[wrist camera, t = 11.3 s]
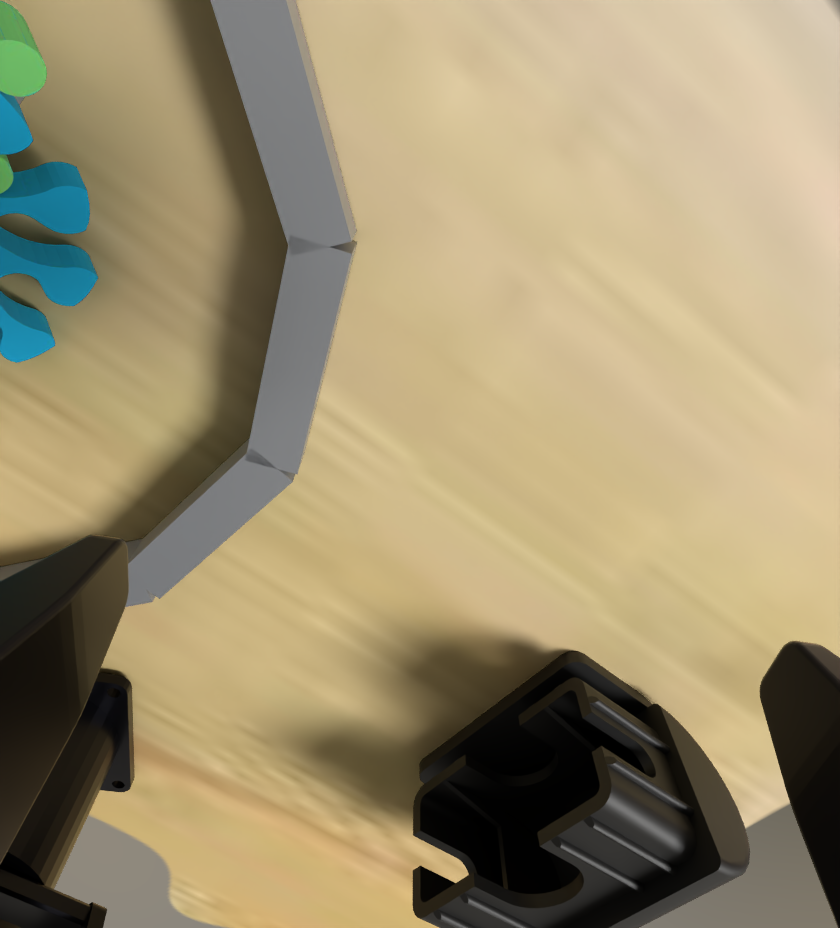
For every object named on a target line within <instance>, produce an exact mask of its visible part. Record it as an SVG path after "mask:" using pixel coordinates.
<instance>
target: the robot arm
mask: <svg viewBox="0 0 840 928" xmlns="http://www.w3.org/2000/svg"><path fill="white" fill-rule="evenodd" d="M128 593H129V577H128V549H127V545H126V542H125V541H124V540H122V539H121V538H115V537H108V536H102V535H89V536H87V537H85V538H83V539H81V540H79V541H77V542H75V543H73V544H71V545H69V546H67V547H65V548H63V549H61V550H59V551H57V552H55V553H53V554H52V555H50V556H48V557H46V558H44V559H42V560H40V561H38V562H36V563H34V564H32V565H30V566H28V567H26V568H24V569H22V570H20V571H18V572H16V573H14V574H13V575H11V576H9V577H7V578H5V579H3V580H1V581H0V928H103V925H104V920H105V916H106V912H107V909H106V908H105V907H102V906H100V905H98V904H95V903H93V902H92V903H90V904H87V903H84V902H82V901H80V900H77V899H75V898H73V897H70V896H68V895H66V894H63V893H61V892H59V891H56V890H54V888H55V886H56V884H57V881H58V879H59V877H60V874H61V873H62V871H63V868H64V866H65V864H66V862H67V860H68V858H69V856H70V853H71V851H72V849H73V847H74V845H75V843H76V840H77V838H78V836H79V834H80V832H81V829H82V827H83V825H84V823H85V821H86V819H87V817H88V814H89V812H90V810H91V808H92V806H93V804H94V801H95V799H96V797H97V795H98V793H99V791H100V790H105V791H114V792H125V791H128V790H129V789H130V787H131V785H132V783H133V780H134V746H133V713H132V686H131V683H130V681H129V680H128V679H126V678H125V677H123V676H119V675H112V674H105V673H99V671H100V668H101V666H102V663H103V661H104V658H105V656H106V653H107V651H108V648H109V646H110V643H111V641H112V639H113V636H114V634H115V631H116V629H117V626H118V624H119V621H120V619H121V616H122V614H123V611H124V609H125V606H126V603H127V599H128ZM760 699H761V703H762V706H763V710H764V713H765V717H766V720H767V724H768V727H769V731H770V734H771V738H772V741H773V745H774V749H775V752H776V756H777V759H778V763H779V766H780V770H781V773H782V777H783V780H784V784H785V787H786V791H787V794H788V797H789V800H790V803H791V806H792V809H793V812H794V815H795V818H796V820H797V823H798V826H799V828H800V831H801V833H802V836H803V839H804V841H805V844H806V846H807V849H808V852H809V854H810V856H811V859H812V862H813V864H814V867H815V870H816V872H817V875H818V877H819V880H820V883H821V885H822V888H823V890H824V893H825V895H826V898H827V901H828V903H829V906H830V908H831V911H832V913H833V916H834V919H835V921H836V924H837V926H838V928H840V658H839V657H838V656H836V655H835V654H833V653H832V652H831V651H829V650H828V649H826V648H825V647H823V646H821V645H818V644H813V643H807V642H800V641H790V642H788V643H787V644H785V645H784V646H783V647H782V649H781V650H780V652H779V654H778V655H777V657H776V658H775V660H774V662H773V663H772V665H771V666H770V668H769V669H768V671H767V673H766V674H765V676H764V677H763V679H762V681H761V685H760Z"/></svg>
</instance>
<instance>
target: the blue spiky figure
mask: <svg viewBox="0 0 840 928" xmlns="http://www.w3.org/2000/svg"><path fill="white" fill-rule="evenodd" d="M46 76H47V72H46V67H45V64H44V61H43V59H42V57H41V54H40V52H39V50H38V48H37V46H36V43H35V41H34V39H33V37H32V34H31V32H30V30H29V28H28V25H27V23H26V21H25V20H24V18H23V16H22V15H21V14H20V13H19V12H18V11H17V10H16V9H15V8H13V7H12V6H11V5H9V4H7V3H5V2H3V1H0V216H2V215H5V214H10V213H19V214H24V215H28V216H30V217H32V218H34V219H35V220H37V221H38V222H40V223H41V224H43V225H44V226H46V227H47V228H49V229H51V230H53V231H55V232H59V233H64V234H74V233H80V232H82V231H85V230H86V228H87V225H88V223H89V216H90V208H89V200H88V194H87V190H86V187H85V185H84V183H83V181H82V178H81V176H80V174H79V171H78V169H77V167H75V166H73V165H71V164H68V163H64V162H50V163H45V164H42V165H40V166H38V167H35V168H33V169H28V170H24V171H20V172H13V171H12V169H11V166H10V163H9V161H8V158H7V155H6V154H13V153H17V152H20V151H22V150H24V149H25V148H27V147H28V146H29V145H30V144H31V143H32V142H33V139H32V136H31V133H30V130H29V128H28V125H27V123H26V121H25V118H24V116H23V113H22V111H21V108H20V106H19V105H20V104H21V102H22V101H23V99H24V97H25V96H29V95H32V94H35V93H36V92H38V91H39V90H40V89H41V88H42V87H43V85H44V83H45V81H46ZM13 273H21V274H27V275H30V276H32V277H34V278H35V279H37V280H38V281H39V283H40V284H41V286H42V288H43V290H44V292H45V294H46V296H47V297H48V298H49V299H50V300H51V301H53V302H55V303H57V304H60V305H65V306H75V305H76V304H78V303H79V302H80V301H82V300H83V299H84V298H85V297H86V296H87V295H88V293H89V292H90V290H91V289H92V288H93V286H94V284H95V282H96V281H97V279H98V276H97V274H96V271H95V269H94V267H93V264H92V262H91V259H90V257H89V255H88V254H87V253H86V252H85V251H84V250H82V249H81V248H79V247H76V246H72V245H52V244H43V243H38V242H34V241H29V240H26V239H24V238H21V237H18V236H16V235H14V234H12V233H10V232H9V231H7V230H5V229H3V228H2V227H0V278H1V277H3V276H5V275H8V274H13ZM54 346H55V341H54V338H53V335H52V332H51V330H50V327H49V324H48V321H47V319H46V317H45V315H43V314H42V313H41V312H40V311H38V310H36V309H33V308H29V307H26V306H23V305H21V304H19V303H17V302H15V301H13V300H12V299H10V298H8V297H7V296H6V295H4V294H3V293H2V292H1V291H0V352H1V354H2V355H3V356H4V357H5V358H6V359H8V360H10V361H13V362H21V361H25V360H28V359H31V358H33V357H36V356H38V355H40V354H42V353H44V352H45V351H47V350H49V349H50V348H52V347H54Z"/></svg>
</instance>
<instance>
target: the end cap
mask: <svg viewBox="0 0 840 928" xmlns="http://www.w3.org/2000/svg"><path fill="white" fill-rule="evenodd" d="M420 780H421V781H422V782H423V783H424V785H423V786H422V787H421V788H420V789H419V791H418V793H417V795H416V797H415V800H414V807H413V836H415V837H417V838H419V839H421V840H423V841H425V842H427V843H429V844H431V845H433V846H435V847H437V848H439V849H441V850H443V851H445V852H446V853H448V854H450V855H452V856H454V857H456V858H458V859H459V860H461V861H462V862H463V864H464V865H465V867H466V868H467V870H468V873H469V875H468V876H467V877H465V878H464V879H462V880H460V881H459V882H457V883H454V882H452V881H450V880H448V879H446V878H444V877H442V876H440V875H438V874H436V873H434V872H432V871H430V870H428V869H426V868H424V867H422V866H419V867H418V868H416V869H415V870H413V911H414V913H415V915H416V916H417V917H418V918H420V919H422V920H424V921H426V922H429V923H431V924H433V925H435V926H437V927H439V928H639V927H641V926H643V925H645V924H647V923H649V922H651V921H653V920H655V919H657V918H659V917H661V916H662V915H664V914H666V913H668V912H670V911H672V910H674V909H676V908H678V907H680V906H682V905H684V904H686V903H688V902H690V901H692V900H694V899H696V898H698V897H699V896H702V895H703V894H705V893H707V892H709V891H711V890H713V889H715V888H717V887H719V886H721V885H723V884H725V883H727V882H729V881H731V880H733V879H735V878H737V877H739V876H741V875H743V874H744V873H745V871H746V869H747V867H748V865H749V858H750V848H749V842H748V837H747V833H746V830H745V827H744V823H743V821H742V818H741V816H740V813H739V811H738V808H737V806H736V804H735V802H734V800H733V798H732V796H731V794H730V792H729V790H728V789H727V787H726V785H725V783H724V782H723V780H722V778H721V776H720V775H719V773H718V772H717V770H716V769H715V767H714V766H713V764H712V762H711V761H710V760H709V758H708V757H707V756H706V754H705V753H704V751H703V750H702V749H701V747H700V746H699V745H698V744H697V742H696V741H695V740H694V739H693V737H692V736H691V735H690V734H689V733H688V732H687V731H686V730H685V728H684V727H683V726H682V725H681V724H680V723H679V722H678V721H677V720H676V719H675V718H674V717H673V716H672V715H671V714H669V713H668V712H667V711H666V710H664V709H663V708H662V707H661V706H659V705H658V704H653V705H652V704H651V703H650V702H649V701H648V700H647V699H646V698H645V697H643V696H642V695H641V694H640V693H639V692H637V691H636V690H634V689H633V688H632V687H630V686H629V685H627V684H626V683H625V682H623V681H622V680H620V679H619V678H617V677H616V676H615V675H613V674H612V673H610V672H609V671H608V670H606V669H605V668H603V667H602V666H600V665H599V664H598V663H596V662H595V661H593V660H592V659H591V658H589V657H588V656H586V655H585V654H583V653H580V652H578V651H570V652H567V653H565V654H562V655H561V656H560V657H558V658H557V659H556V660H554V661H553V662H552V663H550V664H549V665H548V666H546V667H545V668H544V669H542V670H541V671H540V672H538V673H537V674H536V675H534V676H533V677H532V678H530V679H529V680H528V681H526V682H525V683H524V684H522V685H521V686H520V687H518V688H517V689H516V690H514V691H513V692H512V693H510V694H509V695H508V696H506V697H505V698H504V699H502V700H501V701H500V702H498V703H497V704H496V705H494V706H493V707H492V708H490V709H489V710H488V711H487V712H485V713H484V714H483V715H481V716H480V717H479V718H477V719H476V720H475V721H473V722H472V723H471V724H469V725H468V726H467V727H465V728H464V729H463V730H461V731H460V732H459V733H457V734H456V735H455V736H453V737H452V738H451V739H449V740H448V741H447V742H445V743H444V744H443V745H441V746H440V747H439V748H437V749H436V750H435V751H433V752H432V753H431V754H429V755H428V756H427V757H425V758H424V759H423V760H422V761H421V763H420Z"/></svg>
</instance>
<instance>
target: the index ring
mask: <svg viewBox="0 0 840 928" xmlns="http://www.w3.org/2000/svg"><path fill="white" fill-rule="evenodd" d="M210 1H211V4H212V7H213V10H214V13H215V16H216V20H217V23H218V26H219V29H220V32H221V35H222V38H223V42H224V45H225V48H226V51H227V54H228V57H229V60H230V64H231V67H232V70H233V73H234V76H235V79H236V83H237V86H238V89H239V92H240V95H241V98H242V101H243V105H244V108H245V111H246V114H247V117H248V120H249V124H250V127H251V130H252V133H253V136H254V139H255V142H256V146H257V149H258V152H259V155H260V158H261V161H262V164H263V168H264V171H265V174H266V177H267V180H268V183H269V187H270V190H271V193H272V196H273V199H274V202H275V205H276V209H277V212H278V215H279V218H280V221H281V224H282V227H283V231H284V234H285V237H286V240H287V243H288V250H287V255H286V260H285V265H284V270H283V275H282V280H281V285H280V290H279V295H278V300H277V305H276V310H275V315H274V320H273V325H272V330H271V335H270V340H269V345H268V350H267V354H266V359H265V364H264V369H263V374H262V379H261V384H260V389H259V394H258V399H257V404H256V409H255V414H254V419H253V424H252V429H251V434H250V438H249V439H248V440H247V441H246V442H245V443H244V444H243V445H242V446H240V447H239V448H238V449H237V450H236V451H235V452H234V453H233V454H232V455H231V456H230V457H229V458H228V459H227V460H226V461H225V462H224V463H222V464H221V465H220V466H219V467H218V468H217V469H216V470H215V471H214V472H213V473H212V474H211V475H210V476H209V477H208V478H207V479H205V480H204V481H203V482H202V483H201V484H200V485H199V486H198V487H197V488H196V489H195V490H194V491H193V492H192V493H191V494H190V495H189V496H187V497H186V498H185V499H184V500H183V501H182V502H181V503H180V504H179V505H178V506H177V507H176V508H175V509H174V510H173V511H172V512H171V513H169V514H168V515H167V516H166V517H165V518H164V519H163V520H162V521H161V522H160V523H159V524H158V525H157V526H156V527H155V528H154V529H153V530H151V531H150V532H149V533H148V534H147V535H146V536H145V537H144V538H143V539H139V540H134V541H129V542H126V545H127V549H128V577H129V593H128V599H127V603H126V606H125V607H128V606H133V605H138V604H144V603H149V602H153V600H154V598H155V596H156V597H158V598H159V599H160V598H161V597H162V596H163V595H164V594H166V593H167V592H168V591H169V590H170V589H171V588H172V587H173V586H175V585H176V584H177V583H178V582H179V581H180V580H181V579H183V578H184V577H185V576H186V575H187V574H188V573H189V572H191V571H192V570H193V569H194V568H195V567H196V566H197V565H199V564H200V563H201V562H202V561H203V560H204V559H205V558H206V557H208V556H209V555H210V554H211V553H212V552H213V551H214V550H216V549H217V548H218V547H219V546H220V545H221V544H222V543H224V542H225V541H226V540H227V539H228V538H229V537H230V536H231V535H233V534H234V533H235V532H236V531H237V530H238V529H239V528H241V527H242V526H243V525H244V524H245V523H246V522H247V521H249V520H250V519H251V518H252V517H253V516H254V515H255V514H257V513H258V512H259V511H260V510H261V509H262V508H263V507H264V506H266V505H267V504H268V503H269V502H270V501H271V500H272V499H274V498H275V497H276V496H277V495H278V494H279V493H280V492H282V491H283V490H284V489H285V488H286V487H287V486H288V485H289V484H291V483H292V482H293V479H294V476H295V474H298V470H299V467H300V464H301V461H302V458H303V455H304V452H305V449H306V445H307V441H308V437H309V433H310V429H311V425H312V421H313V417H314V413H315V409H316V405H317V401H318V397H319V393H320V389H321V385H322V381H323V377H324V373H325V369H326V365H327V361H328V357H329V353H330V349H331V345H332V340H333V336H334V332H335V328H336V324H337V320H338V316H339V312H340V308H341V304H342V300H343V296H344V292H345V288H346V284H347V280H348V276H349V272H350V268H351V264H352V260H353V256H354V252H355V248H356V244H357V242H355V241H352V240H353V237H354V235H355V233H356V231H357V230H356V226H355V222H354V218H353V214H352V211H351V207H350V203H349V199H348V196H347V192H346V188H345V184H344V180H343V177H342V173H341V169H340V165H339V162H338V158H337V154H336V150H335V146H334V143H333V139H332V135H331V131H330V128H329V124H328V120H327V116H326V112H325V109H324V105H323V101H322V97H321V94H320V90H319V86H318V82H317V78H316V75H315V71H314V67H313V63H312V60H311V56H310V52H309V48H308V44H307V41H306V37H305V33H304V29H303V26H302V22H301V18H300V14H299V11H298V7H297V3H296V0H210ZM43 559H44V558H43ZM40 560H42V559H38V560H33V561H28V562H23V563H18V564H13V565H8V566H3V567H0V581H1V580H3V579H5V578H7V577H9V576H11V575H13V574H14V573H16V572H18V571H20V570H22V569H24V568H26V567H28V566H30V565H32V564H34V563H36V562H38V561H40Z"/></svg>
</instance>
